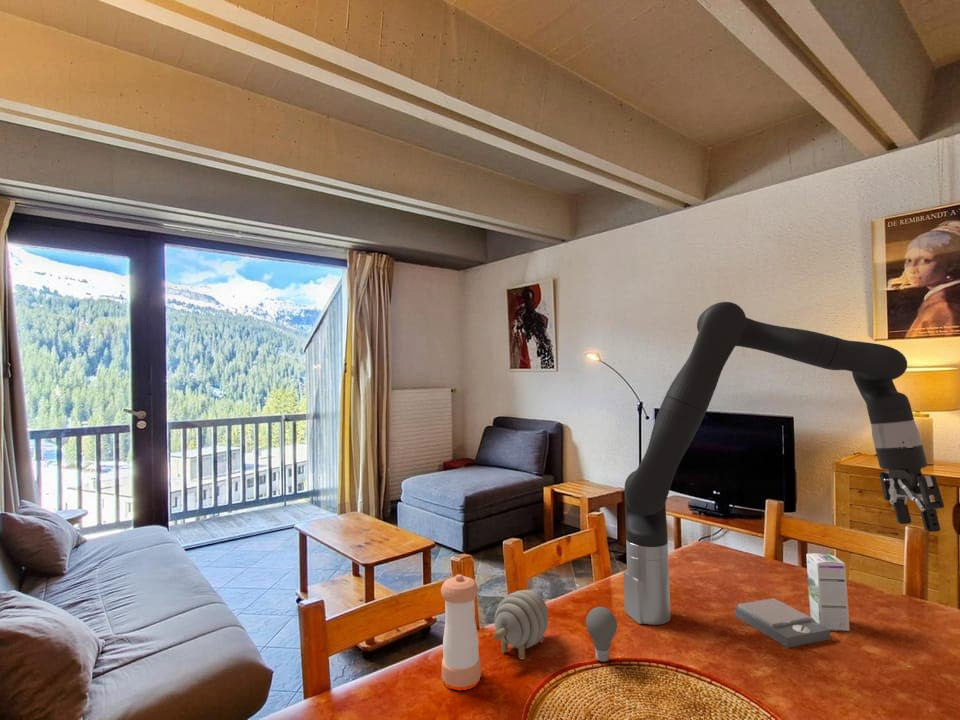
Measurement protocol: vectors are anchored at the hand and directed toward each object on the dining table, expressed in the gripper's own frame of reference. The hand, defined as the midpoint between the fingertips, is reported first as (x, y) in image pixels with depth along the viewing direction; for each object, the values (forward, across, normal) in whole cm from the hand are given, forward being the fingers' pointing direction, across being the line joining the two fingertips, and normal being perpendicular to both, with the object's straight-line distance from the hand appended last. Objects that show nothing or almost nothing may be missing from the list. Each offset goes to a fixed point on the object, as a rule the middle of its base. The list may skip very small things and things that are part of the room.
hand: (918, 527), depth 98 cm
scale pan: (+19, -11, -26) cm, 34 cm away
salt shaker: (+18, +19, -90) cm, 94 cm away
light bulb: (+19, +9, -64) cm, 68 cm away
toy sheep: (+17, +7, -81) cm, 83 cm away
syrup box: (+22, -13, -15) cm, 29 cm away
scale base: (+21, -10, -26) cm, 35 cm away
